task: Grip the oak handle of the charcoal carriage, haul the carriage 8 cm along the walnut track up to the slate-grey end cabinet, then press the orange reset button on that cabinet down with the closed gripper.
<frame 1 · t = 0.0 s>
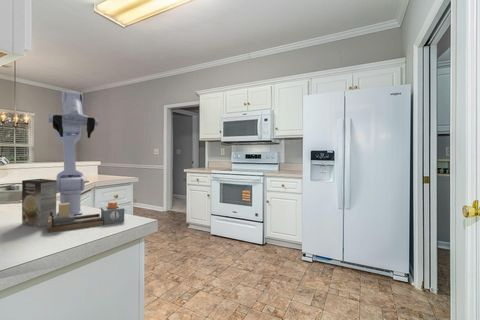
hand: (75, 135, 83), 32 cm above the worktop, tool tilted 50°, fingers open, 7 cm apart
carriage: (64, 213, 87), point 5 cm above the worktop, slide at 0.0 cm
end cabinet: (112, 220, 97), on the worktop
coffee box: (39, 224, 91), on the worktop
reset button: (112, 207, 97), point 5 cm above the worktop, slide at 0.0 cm
track: (75, 225, 90), on the worktop
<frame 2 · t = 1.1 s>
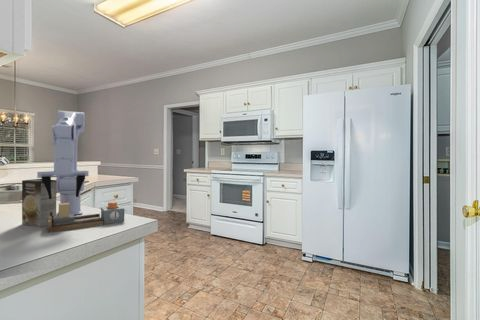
hand: (64, 197, 87), 10 cm above the worktop, tool pointing down, fingers open, 7 cm apart
nothing on the worktop moved.
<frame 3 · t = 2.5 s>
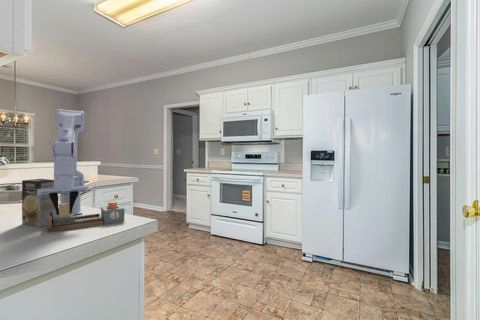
hand: (64, 213, 87), 5 cm above the worktop, tool pointing down, fingers closed on carriage, 3 cm apart
carriage: (64, 213, 87), point 5 cm above the worktop, slide at 0.0 cm, touching gripper
everything else where it was.
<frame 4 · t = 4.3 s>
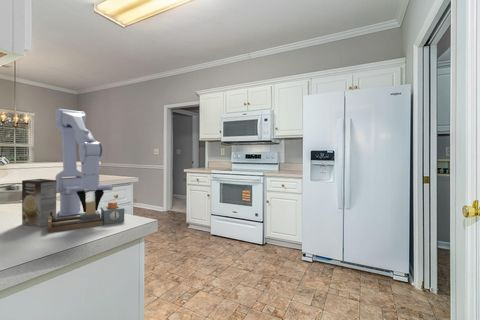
hand: (90, 210, 92), 5 cm above the worktop, tool pointing down, fingers closed on carriage, 3 cm apart
carriage: (90, 210, 92), point 5 cm above the worktop, slide at 8.0 cm, touching gripper
everything else where it was.
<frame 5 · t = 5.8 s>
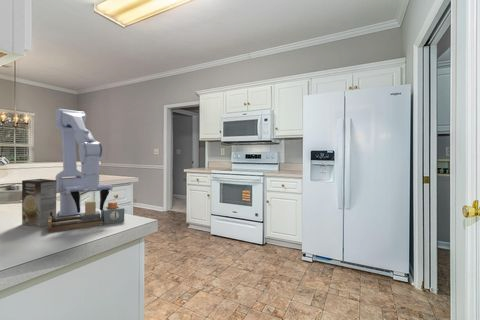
hand: (90, 210, 92), 5 cm above the worktop, tool pointing down, fingers open, 7 cm apart
carriage: (90, 210, 92), point 5 cm above the worktop, slide at 8.0 cm
everything else where it was.
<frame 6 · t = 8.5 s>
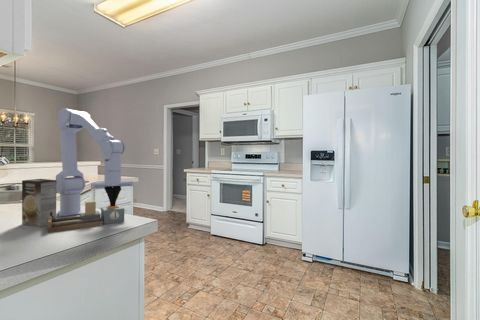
hand: (112, 205, 97), 6 cm above the worktop, tool pointing down, fingers closed, pressing on reset button
reset button: (112, 210, 97), point 4 cm above the worktop, slide at 1.2 cm, touching gripper
everything else where it was.
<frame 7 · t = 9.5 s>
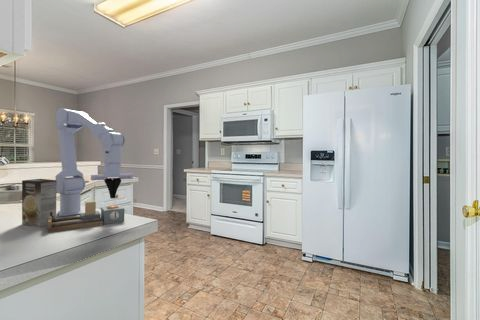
hand: (112, 198, 97), 9 cm above the worktop, tool pointing down, fingers closed
reset button: (112, 211, 97), point 3 cm above the worktop, slide at 1.5 cm
everything else where it was.
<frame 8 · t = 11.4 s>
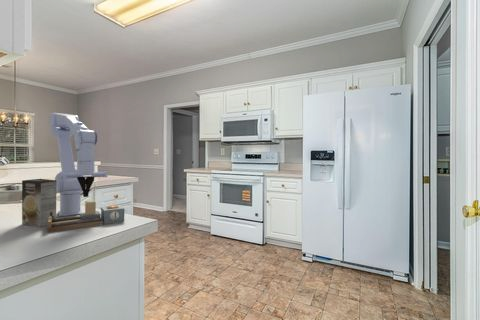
hand: (85, 196, 96), 9 cm above the worktop, tool pointing down, fingers closed
nothing on the worktop moved.
at the end: carriage slide at 8.0 cm; reset button slide at 1.5 cm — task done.
